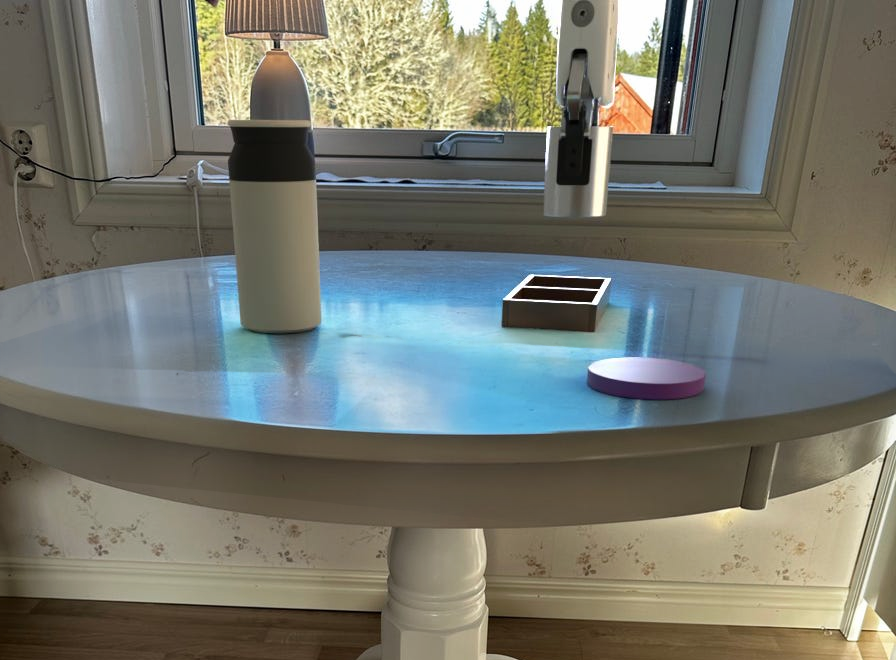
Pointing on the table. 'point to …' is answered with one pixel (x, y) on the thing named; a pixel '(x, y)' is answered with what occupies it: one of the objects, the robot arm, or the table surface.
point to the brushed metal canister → (579, 197)
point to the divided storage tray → (557, 303)
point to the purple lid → (646, 378)
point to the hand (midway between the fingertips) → (576, 181)
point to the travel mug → (275, 225)
